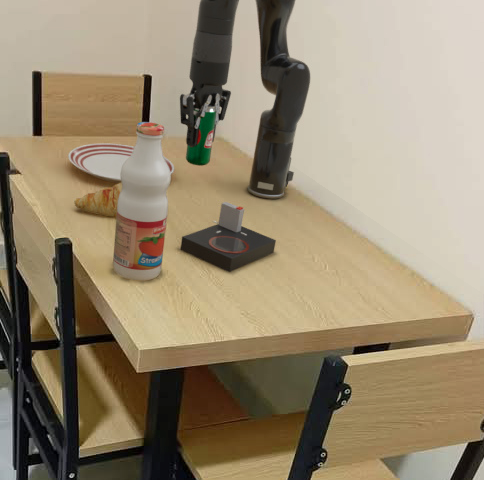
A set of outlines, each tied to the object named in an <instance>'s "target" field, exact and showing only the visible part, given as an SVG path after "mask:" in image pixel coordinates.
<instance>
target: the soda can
mask: <svg viewBox="0 0 484 480" xmlns="http://www.w3.org/2000/svg"><path fill="white" fill-rule="evenodd" d="M215 106H216V105H214V106H213V105H212V106H209V105H208V107H207V110H206V112H205V116H204V118H201V122H200V124H199V127H198V129H199V132H198V140H197V146H195V147H191V146H189V145H187V144H186V152H185V160H186V162H187V163H188V164H190V165H193V166H201V167H203V166H207V165H208V164H209V163H210V161H211V155H212V147H213V142H214V141H213V134H214V127H215V120H216V113H217V110H216V108H215ZM194 111H197V112H200V109H197V108H195V107H194ZM195 120H196V115H194V121H195ZM212 141H213V142H212Z"/></svg>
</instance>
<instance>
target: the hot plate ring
mask: <svg viewBox="0 0 484 480" xmlns="http://www.w3.org/2000/svg"><path fill="white" fill-rule="evenodd" d="M209 245H210V246H211V247H212V248H214V249H216V250H218V251H221V252H225V253H232V254H238V253H244V252H246V251H248V249H249V245H248V244H247V243H246V242H244V241H243V240H240V239H238V238H234V237H229V236H217V237H213V238H211V239H210V240H209Z"/></svg>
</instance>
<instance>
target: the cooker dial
mask: <svg viewBox="0 0 484 480" xmlns="http://www.w3.org/2000/svg"><path fill="white" fill-rule="evenodd" d="M244 213H245V208H244V207H243V206H238V205H235V204H233V203H230V202H228V201H223V202H221V205H220V212H219V217H218V218H219V219H218V223H217V224H218V225H220V226H222V227H224V228H227V229H229V230H232V231H234V232H239V231H241V226H243V221H244Z"/></svg>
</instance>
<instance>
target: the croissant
mask: <svg viewBox="0 0 484 480" xmlns="http://www.w3.org/2000/svg"><path fill="white" fill-rule="evenodd" d="M121 190H122V183H115V184H114V185H113V186H112V187H111V186H109V187H102V188H101V189H100V190H99V191H95V192H91V193H87V194H85V195H84V196H83V197H80V198H75V200H73V201H74V202H73V203H74V206H75V207H76V208H77V209H79V210H81V211H84V212H89V213H92V214H97V215H102V216H107V217H112V218H116V216H117V204H118V197H119V194H120V192H121Z"/></svg>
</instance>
